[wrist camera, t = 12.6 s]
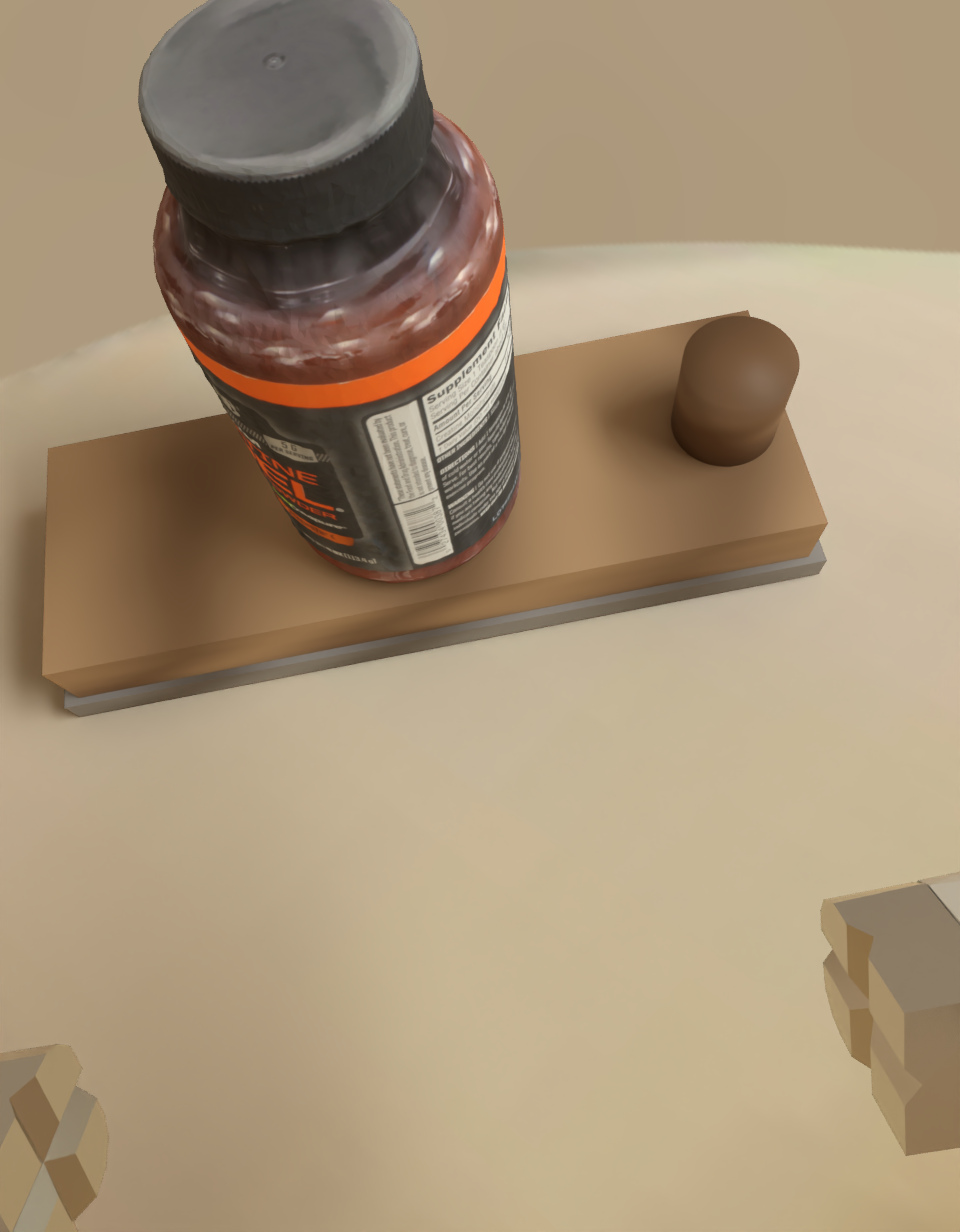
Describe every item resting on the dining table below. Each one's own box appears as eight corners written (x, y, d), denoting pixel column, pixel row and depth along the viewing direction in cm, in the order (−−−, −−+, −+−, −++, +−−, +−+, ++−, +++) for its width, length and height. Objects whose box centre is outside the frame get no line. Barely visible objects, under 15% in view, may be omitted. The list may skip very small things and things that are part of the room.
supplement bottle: (245, 495, 23) (-23, 85, 12) (409, 352, 24) (292, -127, 14) (403, 641, 21) (243, 300, 11) (573, 477, 22) (580, 28, 12)
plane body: (79, 716, 24) (-37, 651, 19) (81, 494, 26) (-20, 390, 22) (818, 573, 23) (880, 472, 19) (742, 364, 26) (780, 231, 22)
